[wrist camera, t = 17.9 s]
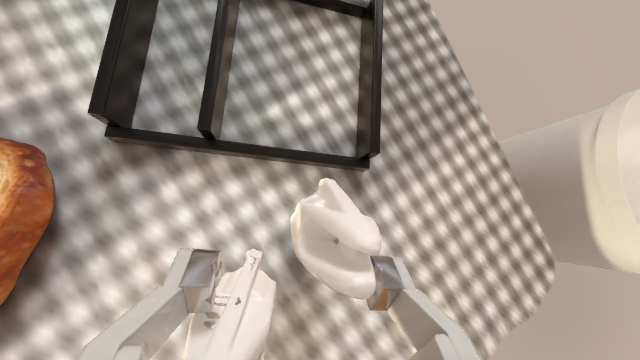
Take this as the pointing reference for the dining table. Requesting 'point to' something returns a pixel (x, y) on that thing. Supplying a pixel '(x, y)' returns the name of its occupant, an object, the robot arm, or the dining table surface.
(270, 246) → the dining table surface
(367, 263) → the shaker set
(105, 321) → the dining table surface
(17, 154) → the bread slice
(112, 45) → the dish rack
